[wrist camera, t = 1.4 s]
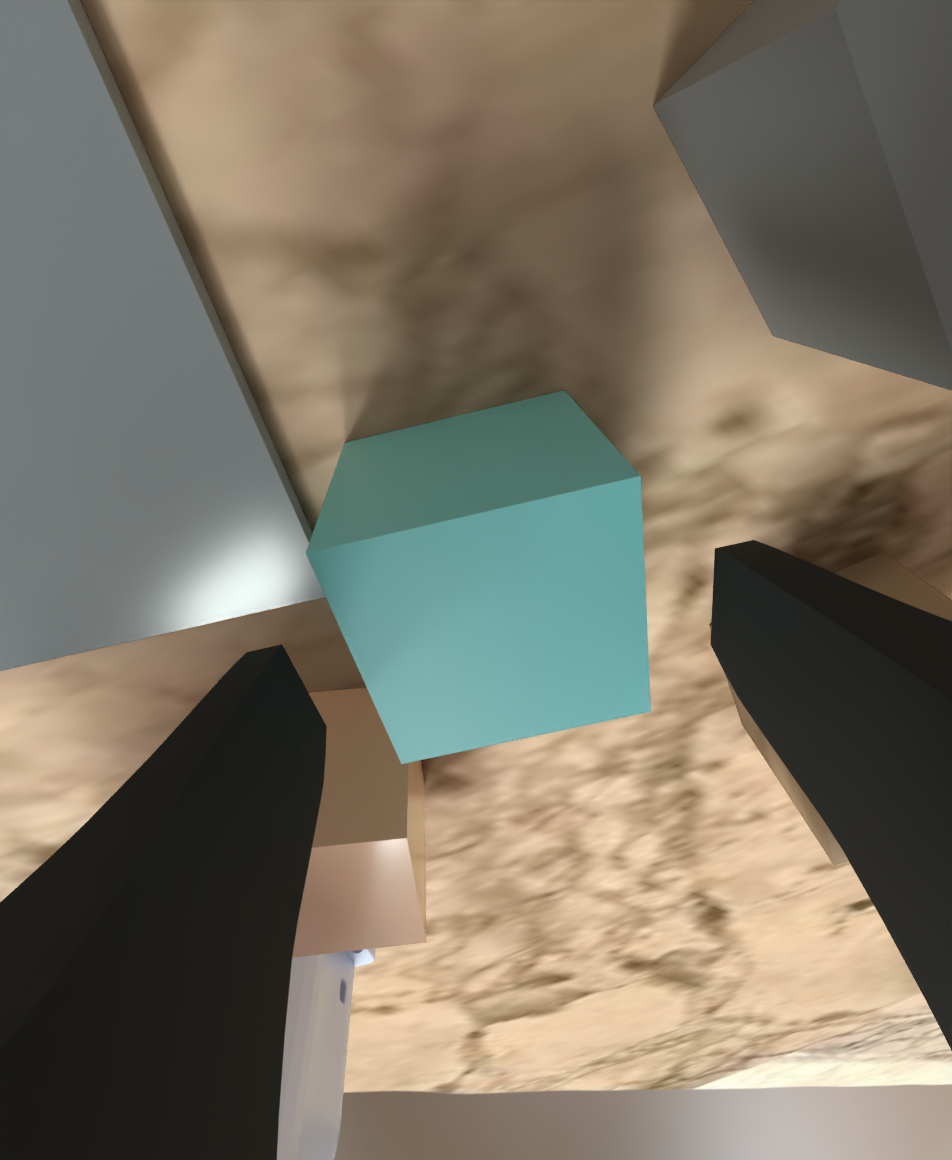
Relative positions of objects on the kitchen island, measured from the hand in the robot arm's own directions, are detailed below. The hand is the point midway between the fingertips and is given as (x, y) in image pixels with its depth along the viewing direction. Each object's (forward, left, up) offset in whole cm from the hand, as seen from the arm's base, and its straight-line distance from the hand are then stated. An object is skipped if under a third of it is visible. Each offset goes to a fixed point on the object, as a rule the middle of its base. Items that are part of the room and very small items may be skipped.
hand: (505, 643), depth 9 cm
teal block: (0, 0, -5) cm, 5 cm away
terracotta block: (-7, +6, -5) cm, 11 cm away
